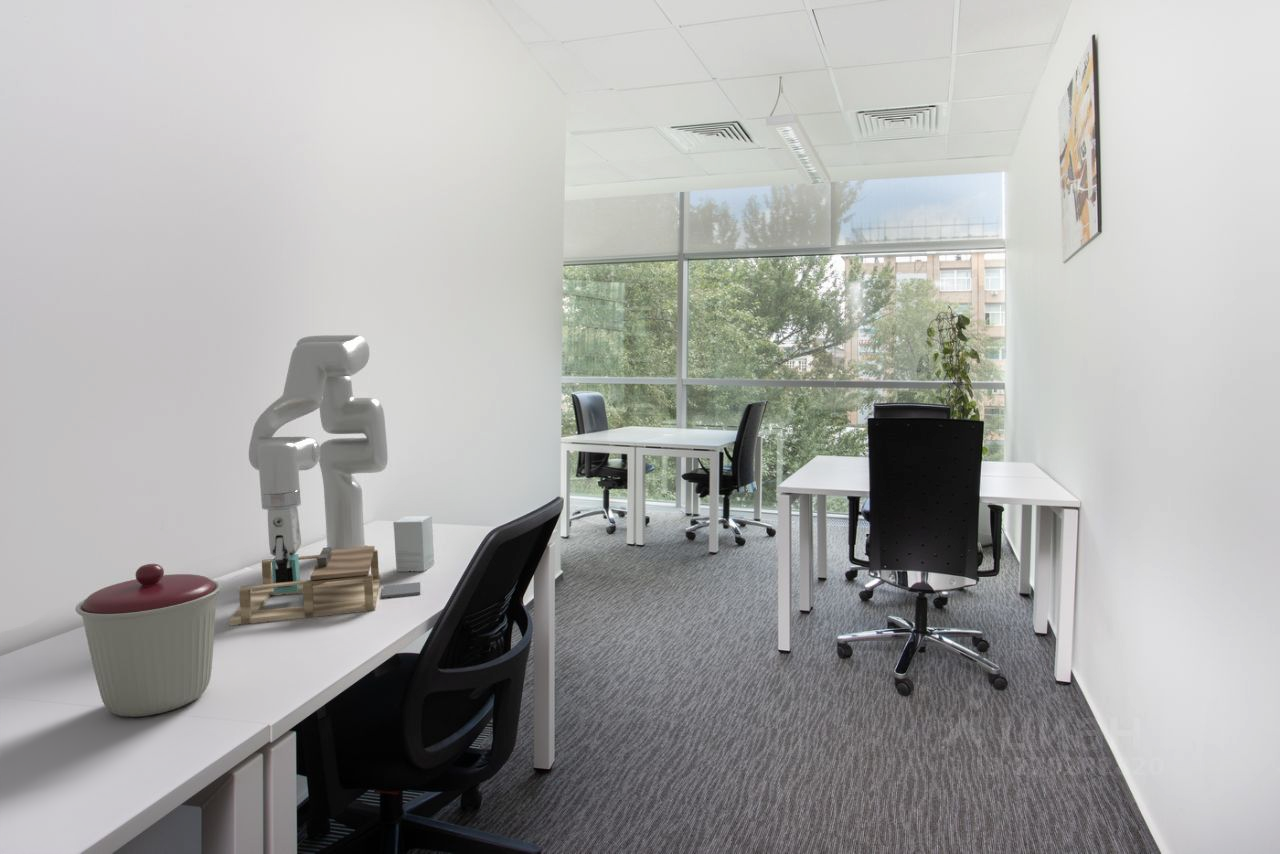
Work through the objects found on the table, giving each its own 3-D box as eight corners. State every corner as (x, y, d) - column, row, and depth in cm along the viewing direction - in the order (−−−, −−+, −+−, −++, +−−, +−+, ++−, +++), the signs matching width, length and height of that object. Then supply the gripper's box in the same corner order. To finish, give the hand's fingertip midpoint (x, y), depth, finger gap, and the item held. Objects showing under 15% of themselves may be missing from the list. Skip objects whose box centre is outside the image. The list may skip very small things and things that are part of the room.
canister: (54, 719, 107) (42, 575, 106) (173, 671, 124) (164, 546, 122) (142, 739, 101) (130, 586, 99) (254, 685, 118) (246, 554, 116)
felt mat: (383, 588, 170) (383, 585, 170) (420, 584, 172) (419, 582, 172) (381, 598, 162) (381, 595, 162) (420, 594, 164) (420, 591, 164)
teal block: (277, 587, 162) (275, 556, 162) (300, 585, 164) (298, 554, 163) (274, 593, 158) (271, 561, 157) (297, 591, 159) (294, 559, 159)
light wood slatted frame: (254, 591, 169) (252, 560, 169) (380, 579, 177) (378, 549, 176) (229, 625, 146) (227, 589, 146) (375, 610, 154) (373, 575, 154)
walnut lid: (324, 553, 173) (323, 541, 173) (374, 549, 176) (374, 537, 176) (310, 580, 150) (309, 566, 150) (368, 574, 153) (367, 561, 153)
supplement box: (435, 564, 190) (433, 515, 189) (424, 572, 183) (421, 521, 182) (407, 564, 191) (405, 515, 190) (395, 572, 184) (392, 521, 183)
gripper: (294, 505, 152) (300, 593, 154) (305, 491, 168) (311, 570, 170) (253, 508, 150) (260, 597, 151) (269, 493, 166) (274, 573, 168)
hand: (286, 582), depth 161 cm, fingers closed on teal block, 4 cm apart
